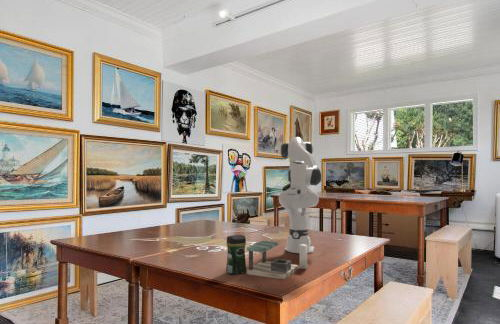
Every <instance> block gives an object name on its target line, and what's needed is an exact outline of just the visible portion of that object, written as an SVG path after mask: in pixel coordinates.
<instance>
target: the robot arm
mask: <svg viewBox="0 0 500 324" xmlns="http://www.w3.org/2000/svg"><path fill="white" fill-rule="evenodd" d="M279 153H280V155H281V158H282V159H289V165H288V166H289V168H288V170H287V173H288V176H287V177H288V178H287V181H288V182H289V183H290V184H289V185H290V187H289V188H287V189H286V190H282V191H281V192H280V193H279V195H278V203H279V205H280V206H282V207H283V208H284V210H285V211H286V212H287V214H288V217H289V230H288V232H289V233H288V234H289V235H288V236H287V237H286V247H284V250H285V251H287V252H288V253H292V254H293V253H294V254H300V245H301V244H305V245H307V254H312V253H314V250H315V246H313V245H312V239H311V238H310V236H309V228H308V216H307V215H306V212H307V208H312V207H317V205H318V204H319V202H320V197H319V194H318V193H317V191H315V190H313V188H311V187H310V186H317V185H319V184H320V183H321V182H322V178H323V177H322V172H321V170H320V168H319V167H318V164H317V162H316V160H315V158H314V156H313V154H314V146H313V145H312V143H311V141H310V142H309V141H304V140H303V139H302V138H301V137H300V136H295V137H292V138H291V139H290V140H289V142H284V143H282V144H281V145H280V147H279ZM307 166H308V167H307ZM298 209H301V212H300V211H299V210H298Z"/></svg>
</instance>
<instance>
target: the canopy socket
mask: <svg viewBox="0 0 500 324" xmlns="http://www.w3.org/2000/svg"><path fill="white" fill-rule="evenodd" d="M278 245H279V241H273V240H261V241H259V242H256V243H254V244H252V245H251V244H250V245H249V246H247V247H246V251H247V252H248V269H247V268H246V274H247V275H251V276H259V277H265V278H271V279H272V278H273V279H279V280H284V281H285V280H287V279H288V278H289V277H290V276H291V275H293V274H294V273H295V272H296V271H297V270H299V264H292V260H291V259H290V260H288V259H280V258H276V259H274V260H272V261H267V251H270V250H271V249H273V248H275V247H277V246H278ZM254 252H256V253H261V257H262V258H261V261H259V262H258V263H257V264H254Z"/></svg>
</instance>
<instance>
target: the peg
mask: <svg viewBox="0 0 500 324" xmlns="http://www.w3.org/2000/svg"><path fill="white" fill-rule="evenodd" d="M299 269H300V270H307V269H308V253H307V245H305V244H301V245H300V253H299Z"/></svg>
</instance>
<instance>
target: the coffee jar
mask: <svg viewBox="0 0 500 324" xmlns="http://www.w3.org/2000/svg"><path fill="white" fill-rule="evenodd" d="M246 244H247V240H246V236H245V235H243V234H235V235H233V234H232V235H228V236H226V247H227V258H226V269H225V270H226V273H227V274H230V275H239V274H240V275H241V274H244V273H247V265H246V264H247V262H246V252H245V251H246Z"/></svg>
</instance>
